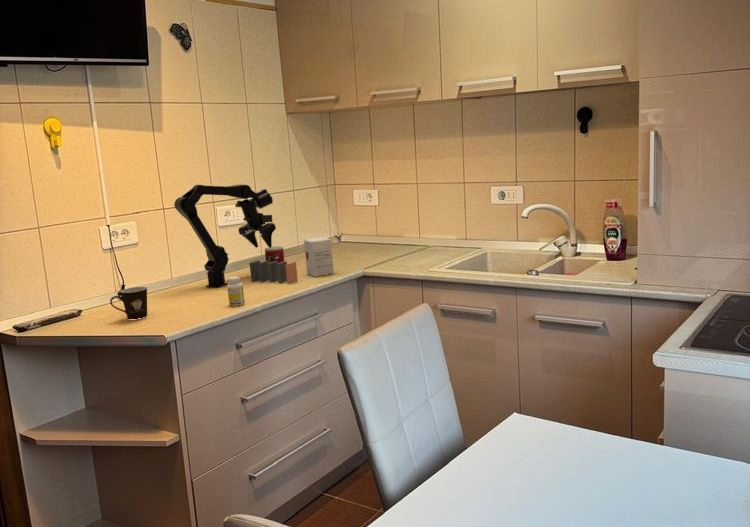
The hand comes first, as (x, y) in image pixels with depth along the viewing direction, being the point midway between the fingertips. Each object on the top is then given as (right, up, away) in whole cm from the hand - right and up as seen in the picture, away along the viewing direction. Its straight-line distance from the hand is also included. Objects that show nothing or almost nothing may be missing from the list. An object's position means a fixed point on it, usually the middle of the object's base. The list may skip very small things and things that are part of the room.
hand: (263, 247), depth 295 cm
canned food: (+4, -11, +8) cm, 14 cm away
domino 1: (-2, -14, -5) cm, 15 cm away
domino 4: (+10, -14, -12) cm, 21 cm away
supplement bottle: (-2, -22, -45) cm, 50 cm away
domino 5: (+14, -14, -14) cm, 24 cm away
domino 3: (+6, -14, -10) cm, 18 cm away
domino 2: (+2, -14, -7) cm, 16 cm away
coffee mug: (-36, -26, -55) cm, 71 cm away
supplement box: (+24, -12, -2) cm, 27 cm away
